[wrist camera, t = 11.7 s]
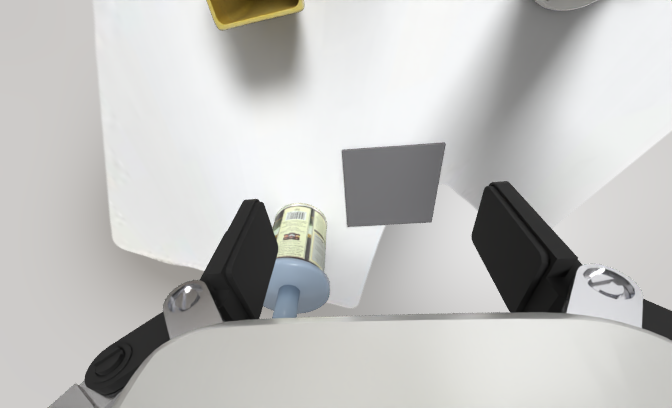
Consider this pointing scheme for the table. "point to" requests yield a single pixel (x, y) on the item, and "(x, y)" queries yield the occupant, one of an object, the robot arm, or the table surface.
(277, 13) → the flower pot
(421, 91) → the table surface
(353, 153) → the mat
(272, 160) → the table surface
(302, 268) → the lid
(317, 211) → the coffee can
